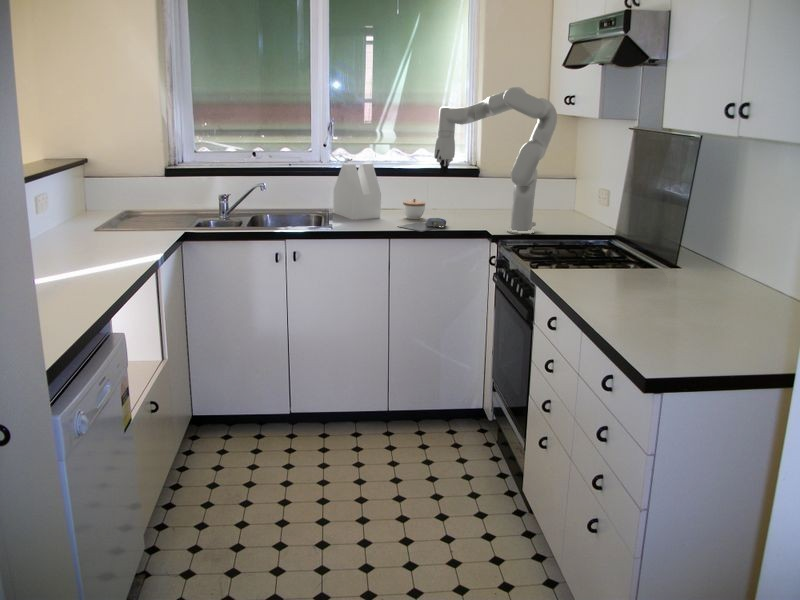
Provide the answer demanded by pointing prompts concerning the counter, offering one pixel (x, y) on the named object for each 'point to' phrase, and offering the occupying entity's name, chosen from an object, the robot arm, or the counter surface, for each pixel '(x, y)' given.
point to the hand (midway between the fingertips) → (443, 174)
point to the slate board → (418, 227)
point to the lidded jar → (413, 209)
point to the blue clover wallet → (435, 222)
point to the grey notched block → (357, 192)
